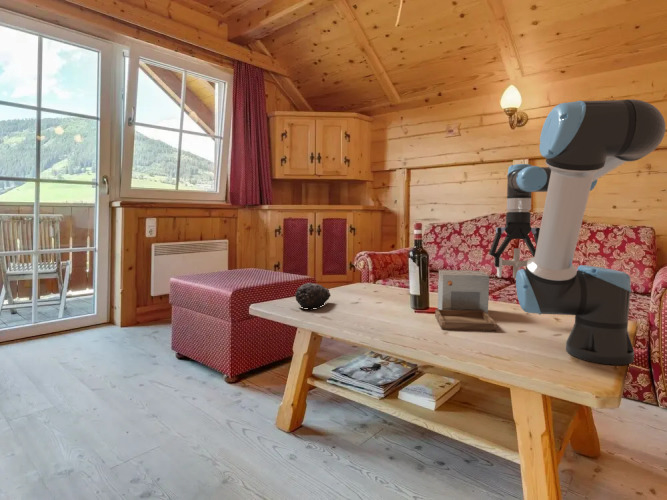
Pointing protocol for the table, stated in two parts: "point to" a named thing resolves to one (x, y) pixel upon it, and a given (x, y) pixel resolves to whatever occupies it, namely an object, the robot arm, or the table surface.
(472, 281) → the box
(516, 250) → the pipe connector
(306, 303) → the black oval piece
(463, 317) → the tray
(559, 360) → the table surface
